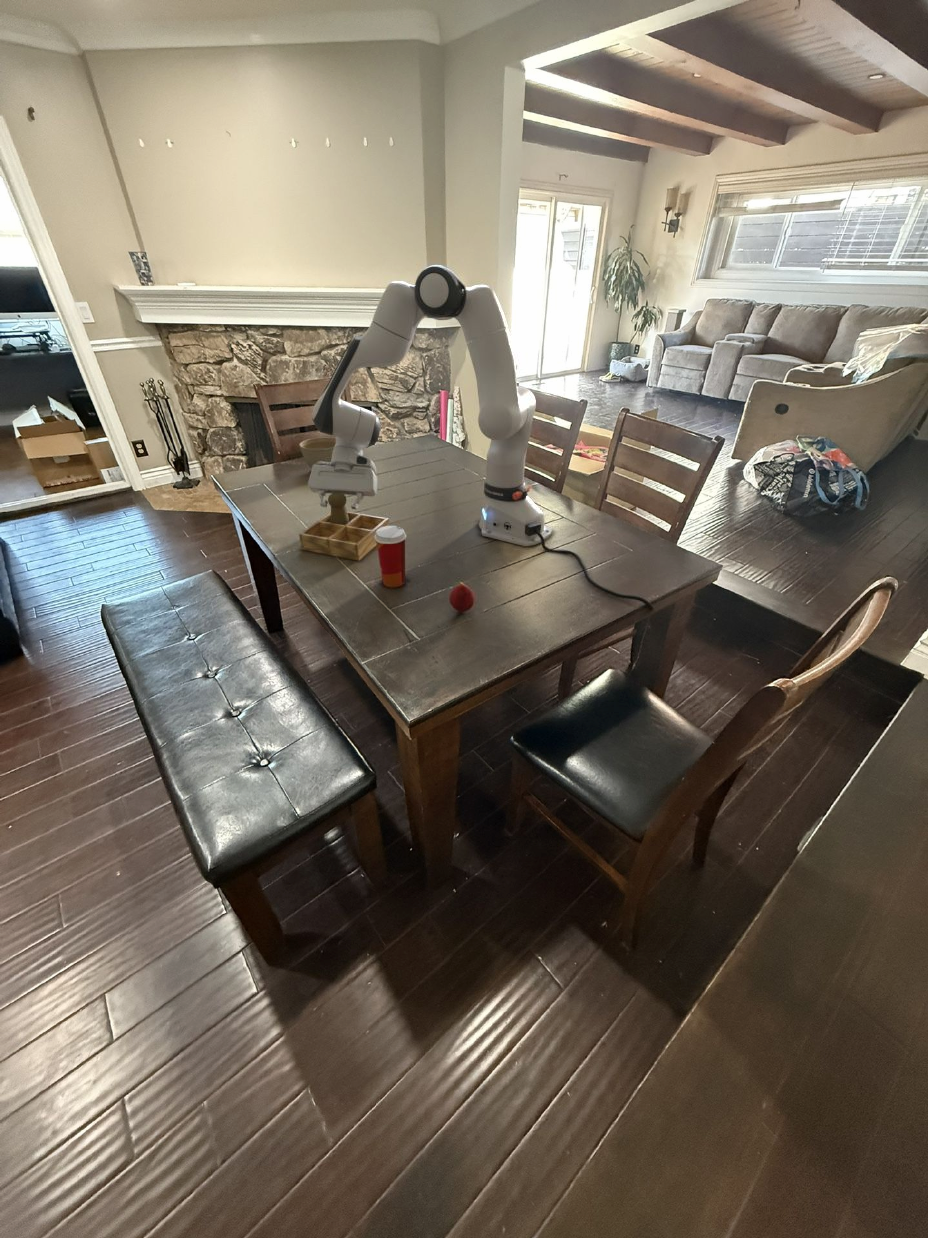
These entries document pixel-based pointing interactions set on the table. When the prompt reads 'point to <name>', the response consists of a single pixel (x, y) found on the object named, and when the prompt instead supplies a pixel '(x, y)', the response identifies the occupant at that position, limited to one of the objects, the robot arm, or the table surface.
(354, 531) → the wooden compartment tray
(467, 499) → the table surface
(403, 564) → the paper cup
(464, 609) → the onion
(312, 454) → the planter bowl
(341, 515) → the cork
